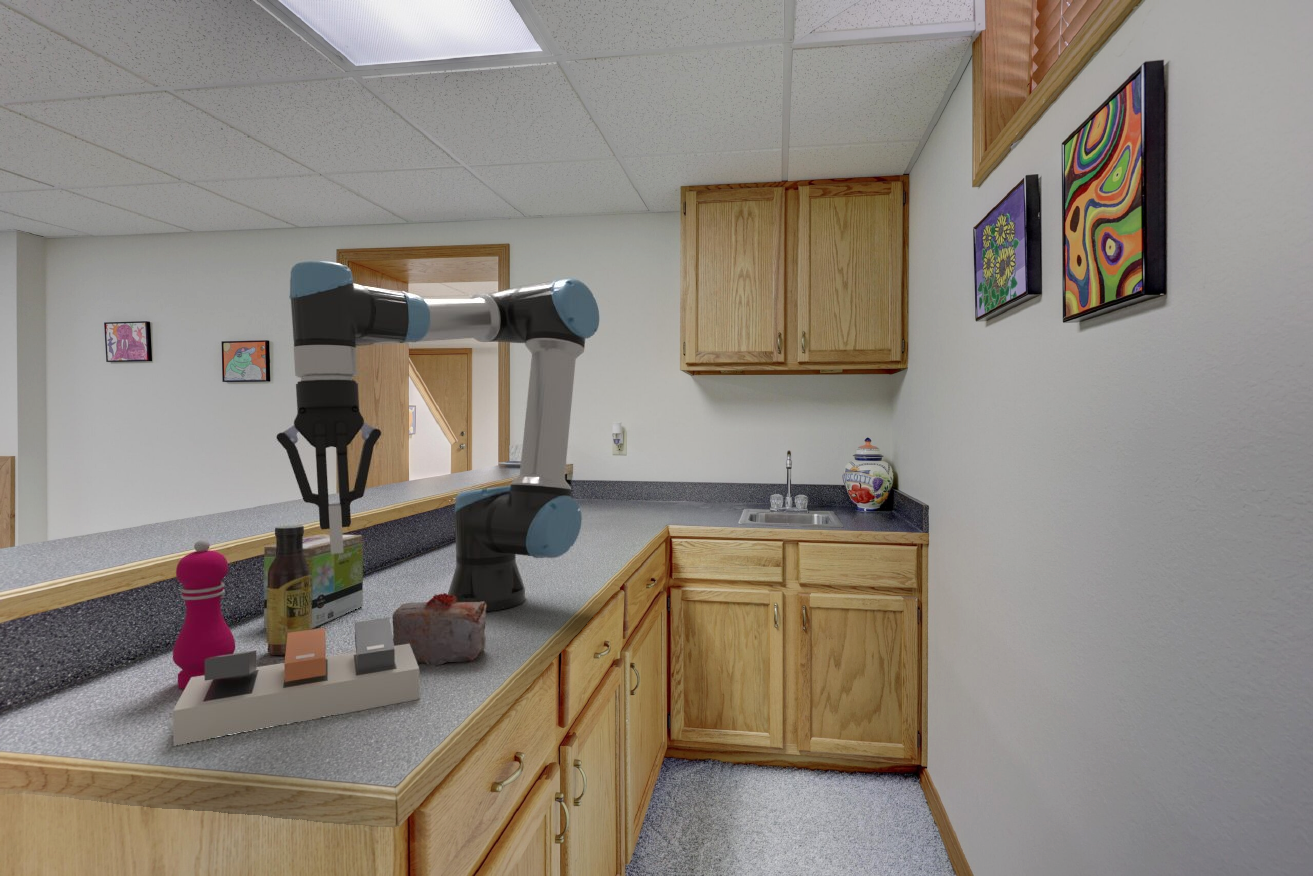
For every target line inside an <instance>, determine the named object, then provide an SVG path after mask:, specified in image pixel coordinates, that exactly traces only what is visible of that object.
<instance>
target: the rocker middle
mask: <svg viewBox="0 0 1313 876" xmlns="http://www.w3.org/2000/svg"><path fill="white" fill-rule="evenodd" d="M326 644H327V643H326V628H325V627H322V628H313V629H312V630H305V631H298V632H291V633H288V635H287V644H286V653H285V655H284V662H283V663H284V667H285V682H288V681H294V680H300V679H306V678H312V677H318V676H324V675H326V656H327V655H326V654H327V652H326Z"/></svg>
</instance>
